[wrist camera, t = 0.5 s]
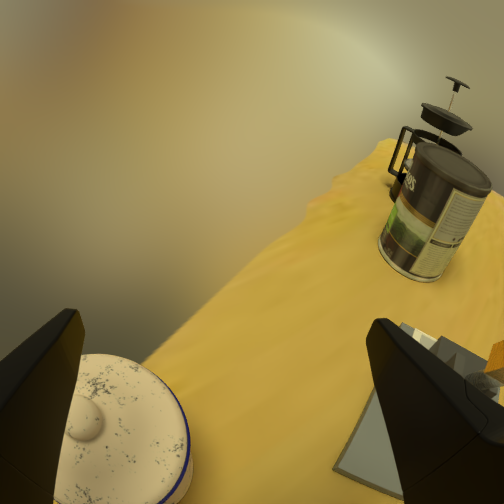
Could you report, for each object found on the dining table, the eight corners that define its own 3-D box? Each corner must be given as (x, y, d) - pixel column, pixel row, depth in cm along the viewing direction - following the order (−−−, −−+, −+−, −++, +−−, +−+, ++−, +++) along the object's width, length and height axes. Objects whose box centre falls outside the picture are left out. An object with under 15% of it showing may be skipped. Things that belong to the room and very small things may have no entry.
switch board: (461, 519, 14) (510, 506, 10) (332, 469, 19) (366, 453, 15) (494, 381, 25) (529, 351, 21) (397, 329, 29) (425, 290, 25)
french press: (444, 210, 50) (491, 97, 34) (431, 228, 44) (487, 95, 29) (393, 178, 55) (429, 66, 40) (372, 191, 50) (412, 61, 34)
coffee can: (369, 259, 37) (413, 156, 27) (385, 221, 44) (419, 134, 34) (440, 295, 34) (498, 201, 24) (445, 251, 41) (487, 169, 31)
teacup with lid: (57, 439, 17) (-30, 370, 10) (148, 387, 22) (115, 293, 15) (150, 569, 11) (97, 610, 4) (251, 504, 17) (290, 496, 9)
